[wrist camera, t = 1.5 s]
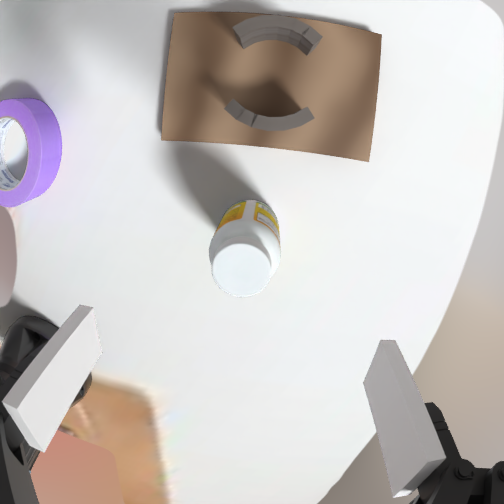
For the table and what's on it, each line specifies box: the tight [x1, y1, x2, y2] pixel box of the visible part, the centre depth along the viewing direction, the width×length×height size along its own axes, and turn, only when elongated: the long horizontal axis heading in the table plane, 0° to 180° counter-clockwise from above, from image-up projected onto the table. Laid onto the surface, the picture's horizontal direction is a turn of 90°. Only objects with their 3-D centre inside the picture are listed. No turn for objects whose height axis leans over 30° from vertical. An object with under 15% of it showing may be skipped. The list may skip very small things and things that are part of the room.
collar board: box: [161, 12, 382, 162], centre depth 22 cm, size 18×12×6 cm, turn 85°
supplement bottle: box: [209, 200, 281, 297], centre depth 26 cm, size 5×5×10 cm
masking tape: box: [0, 98, 62, 207], centre depth 26 cm, size 12×12×4 cm
